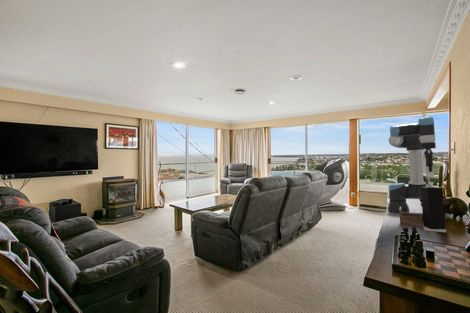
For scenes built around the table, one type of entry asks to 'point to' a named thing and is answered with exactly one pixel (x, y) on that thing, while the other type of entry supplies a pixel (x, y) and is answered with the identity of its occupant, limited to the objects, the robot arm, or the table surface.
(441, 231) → the felt mat
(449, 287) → the table surface
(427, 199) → the black tall block
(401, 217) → the book bay
